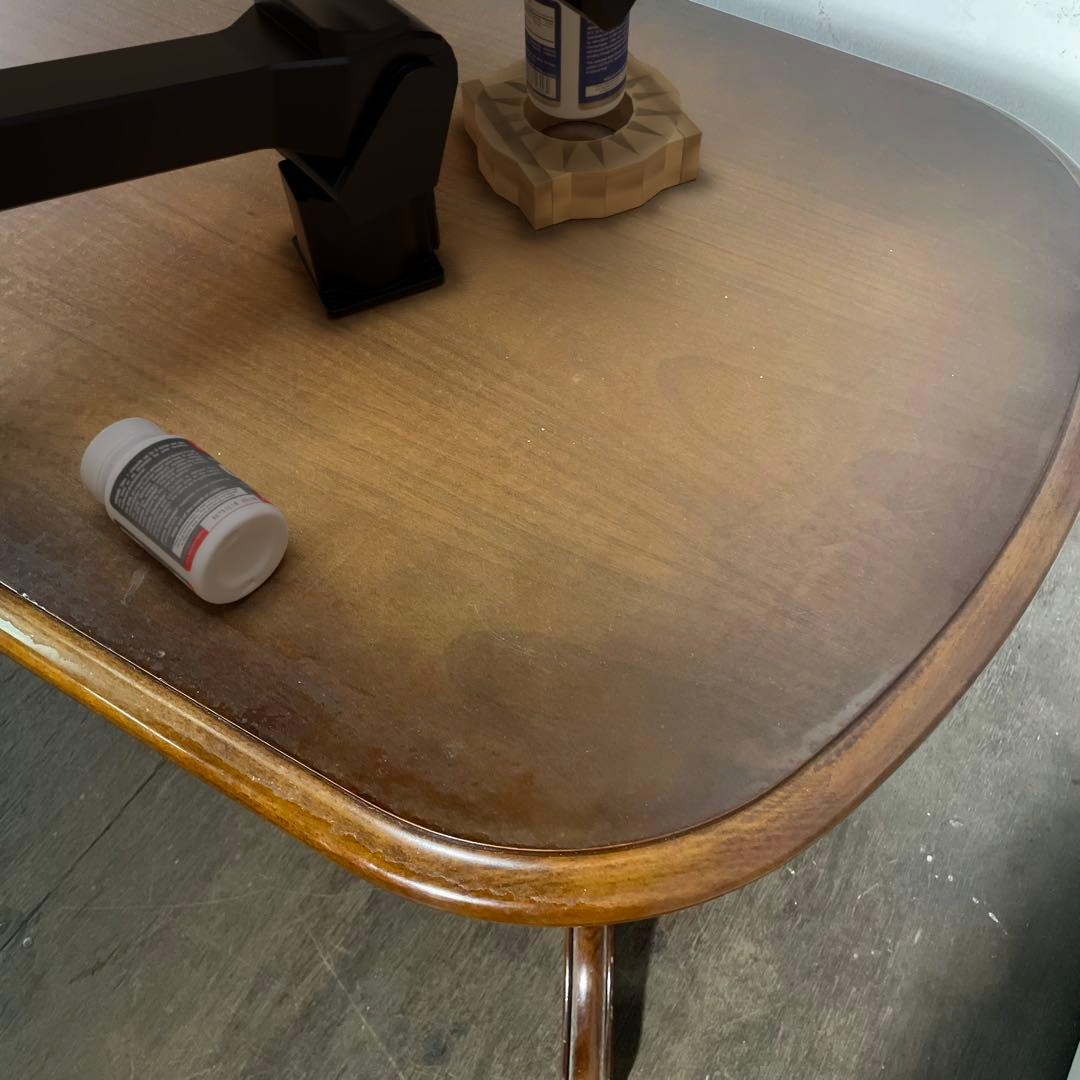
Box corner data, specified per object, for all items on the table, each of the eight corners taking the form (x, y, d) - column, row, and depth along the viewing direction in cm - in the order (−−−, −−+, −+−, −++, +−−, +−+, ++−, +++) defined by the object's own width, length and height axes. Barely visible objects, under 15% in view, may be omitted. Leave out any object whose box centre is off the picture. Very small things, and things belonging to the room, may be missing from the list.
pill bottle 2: (628, 67, 59) (640, -122, 51) (621, 126, 56) (633, -66, 48) (532, 62, 59) (529, -127, 51) (520, 119, 56) (515, -72, 48)
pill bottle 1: (294, 491, 43) (165, 391, 46) (196, 543, 40) (65, 432, 43) (291, 573, 46) (170, 474, 49) (201, 626, 43) (78, 518, 46)
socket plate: (528, 242, 57) (526, 196, 54) (449, 126, 62) (444, 79, 60) (713, 182, 59) (720, 135, 57) (620, 75, 65) (622, 29, 62)
